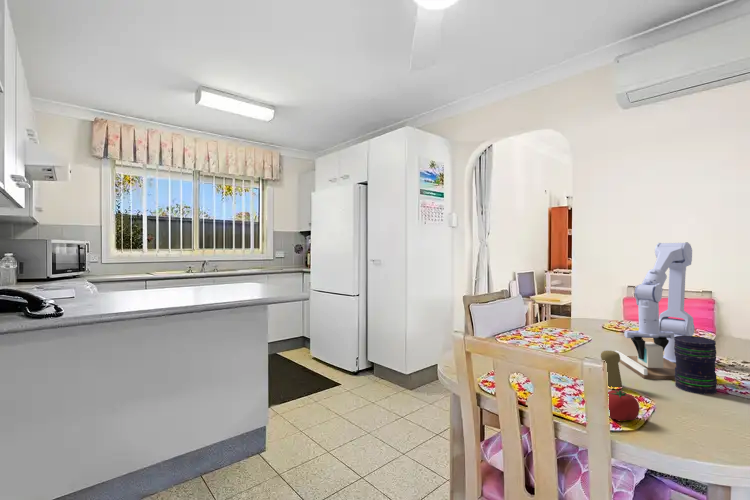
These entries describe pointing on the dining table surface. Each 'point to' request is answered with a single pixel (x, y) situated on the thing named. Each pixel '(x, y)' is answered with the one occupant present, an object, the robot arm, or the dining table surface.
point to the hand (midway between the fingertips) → (649, 358)
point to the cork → (612, 368)
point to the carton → (652, 355)
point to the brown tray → (646, 372)
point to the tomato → (622, 406)
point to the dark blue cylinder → (695, 364)
